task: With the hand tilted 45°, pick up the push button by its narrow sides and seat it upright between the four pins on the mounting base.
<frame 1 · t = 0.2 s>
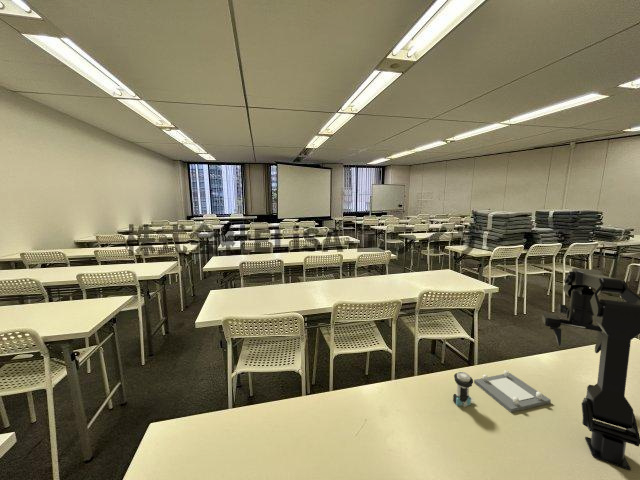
hand: (577, 348, 87), 15 cm above the table, tool pointing down, fingers open, 9 cm apart
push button: (463, 404, 82), on the table
mounting base: (510, 392, 87), on the table
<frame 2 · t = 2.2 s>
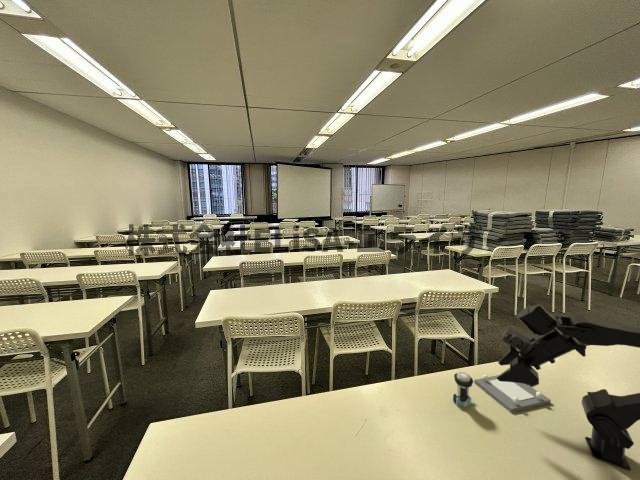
hand: (498, 371, 78), 13 cm above the table, tool tilted 45°, fingers open, 9 cm apart
nothing on the table moved.
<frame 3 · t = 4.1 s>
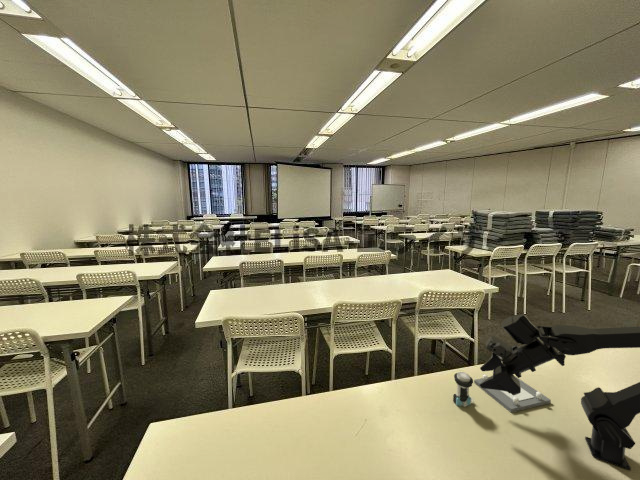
hand: (480, 377, 79), 11 cm above the table, tool tilted 45°, fingers open, 9 cm apart
nothing on the table moved.
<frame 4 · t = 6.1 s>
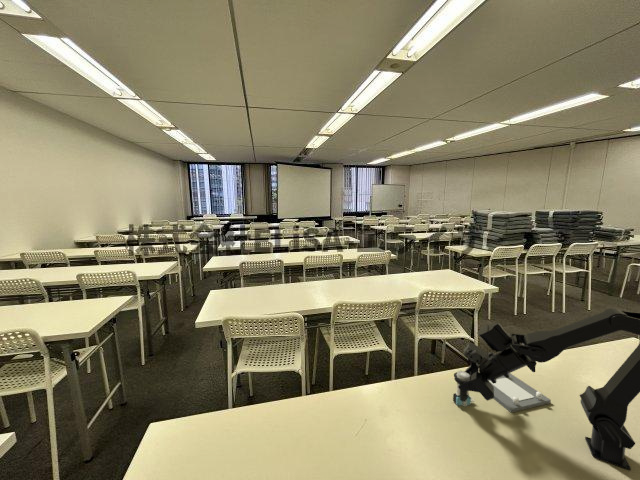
hand: (459, 382, 82), 7 cm above the table, tool tilted 45°, fingers closed on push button, 5 cm apart
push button: (463, 403, 82), on the table, touching gripper
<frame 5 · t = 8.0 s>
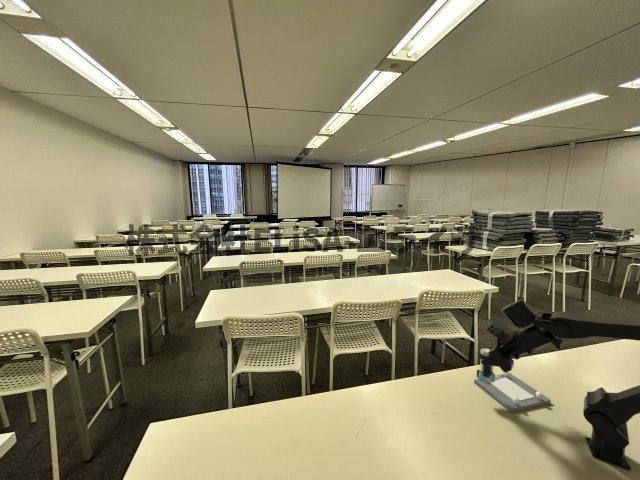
hand: (484, 359, 84), 13 cm above the table, tool tilted 45°, fingers closed on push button, 5 cm apart
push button: (487, 380, 84), point 6 cm above the table, touching gripper
when the fingers open (9 cm above the table, at t = 10.1 s): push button drops 1 cm, resting on mounting base.
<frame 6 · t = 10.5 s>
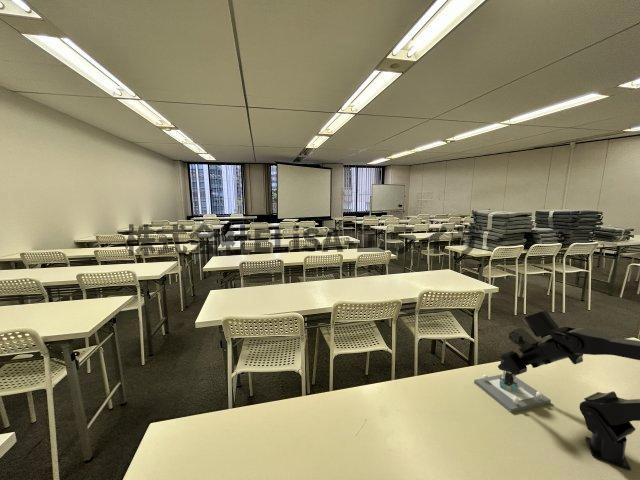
hand: (507, 364, 87), 9 cm above the table, tool tilted 45°, fingers open, 9 cm apart
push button: (510, 389, 87), point 1 cm above the table, touching mounting base
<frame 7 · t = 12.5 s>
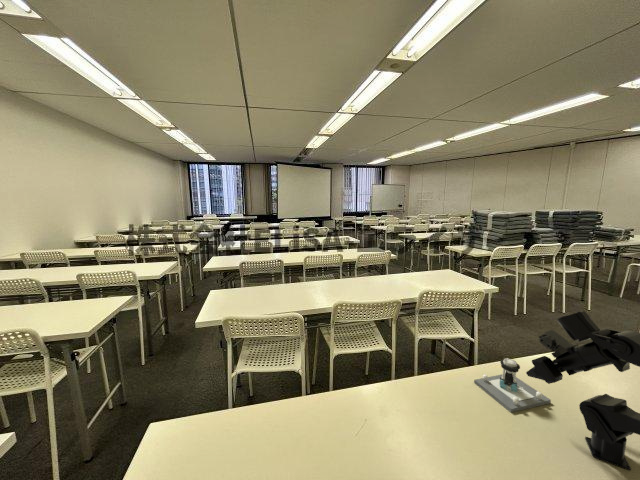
hand: (536, 370, 79), 13 cm above the table, tool tilted 45°, fingers open, 9 cm apart
nothing on the table moved.
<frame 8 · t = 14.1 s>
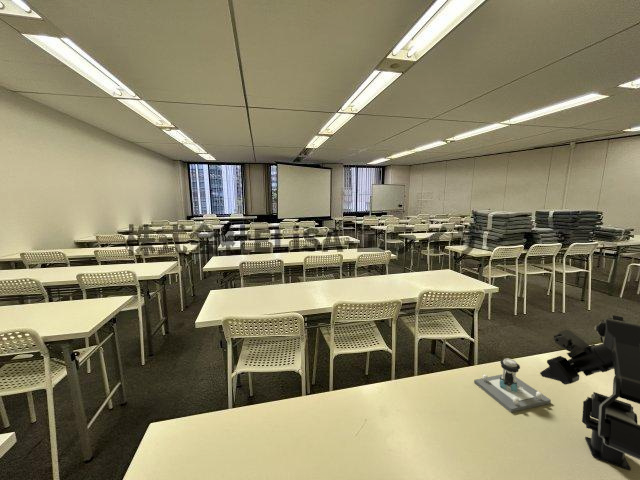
hand: (550, 371, 77), 14 cm above the table, tool tilted 45°, fingers open, 9 cm apart
nothing on the table moved.
at the end: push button 0.1 cm off-centre on the mounting base, point 1.2 cm above the mounting base's base; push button tilted 0°; the gripper is holding nothing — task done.
